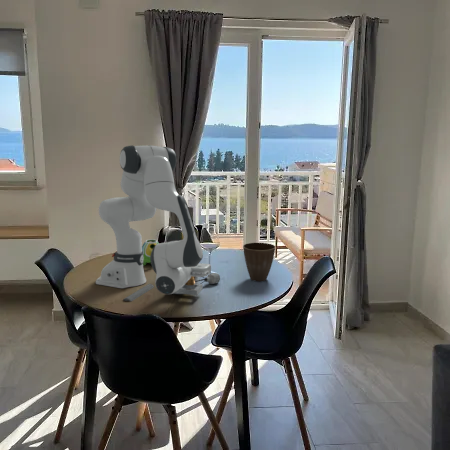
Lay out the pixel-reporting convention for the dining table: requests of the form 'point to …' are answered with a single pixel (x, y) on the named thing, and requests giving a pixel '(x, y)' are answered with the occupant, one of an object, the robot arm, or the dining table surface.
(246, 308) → the dining table surface
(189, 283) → the wedge pin
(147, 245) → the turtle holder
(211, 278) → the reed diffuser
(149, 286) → the gray half cylinder
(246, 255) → the plant pot
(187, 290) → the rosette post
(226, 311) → the dining table surface
